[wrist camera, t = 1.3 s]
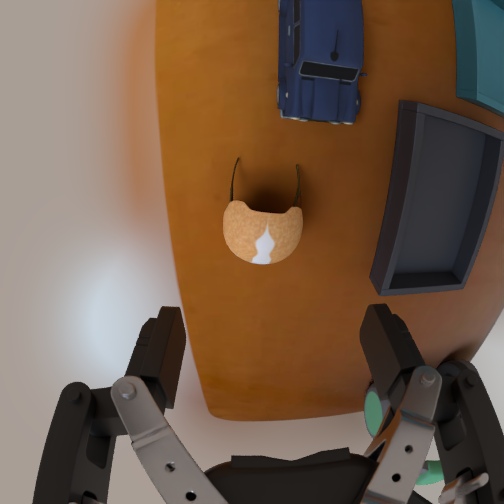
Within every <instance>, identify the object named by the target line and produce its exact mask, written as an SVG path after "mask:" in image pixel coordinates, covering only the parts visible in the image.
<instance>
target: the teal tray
mask: <svg viewBox="0 0 504 504" xmlns="http://www.w3.org/2000/svg"><path fill="white" fill-rule="evenodd" d="M452 5H453V12H454V21H455V33H456V52H457V86H456V97H459V98H461V99H464V100H466V101H469V102H471V103H473V104H476V105H478V106H480V107H483V108H485V109H487V110H489V111H491V112H494V113H496V114H498V115H500V116H502V117H504V0H452Z"/></svg>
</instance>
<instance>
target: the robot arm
mask: <svg viewBox="0 0 504 504" xmlns="http://www.w3.org/2000/svg"><path fill="white" fill-rule="evenodd" d="M408 331H409V330H408V328H407V326H406V324H405V323H404V321H403V320H402V319H401V318H400V317H399V316H397V315H396V314H392V313H391V311H390V309H389V307H388V306H387V304H371V305H369V306H368V308H367V311H366V314H365V317H364V320H363V323H362V325H361V328H360V342H361V345H362V348H363V351H364V354H365V357H366V360H367V362H368V365H369V368H370V371H371V374H372V377H373V380H374V384H375V387H376V390H377V393H378V396H379V399H380V401H384V400H389V401H390V406H389V407H388V409H387V412H386V414H385V416H384V418H383V421H382V423H381V425H380V427H379V429H378V431H377V433H376V435H375V437H374V439H373V441H372V443H371V444H370V446H369V447H368V449H367V450H366V452H365V453H364V455H363V456H362V455H359V454H353V453H350V452H349V448H348V447H347V448H341V449H334V450H327V451H321V452H318V453H315V454H313V455H309V456H306V457H303V458H301V459H298V460H293V461H289V460H283V459H277V458H271V457H266V456H231V461H229V462H225V463H222V464H218V465H216V466H214V467H212V468H210V469H208V470H206V471H205V472H204V473H203V471H202V470H201V469H200V468H199V466H198V465H197V464H196V462H195V461H194V459H193V458H192V457H191V455H190V454H189V453H188V452H187V450H186V448H185V447H184V445H183V444H182V443H181V441H180V440H179V438H178V437H177V435H176V434H175V432H174V431H173V429H172V428H171V426H170V425H169V423H168V422H167V420H166V419H165V417H164V412H165V408H169V409H173V408H174V402H175V396H176V391H177V386H178V381H179V375H180V370H181V365H182V360H183V355H184V350H185V345H186V333H185V328H184V323H183V319H182V314H181V309H180V308H179V307H167V306H166V307H165V306H162V307H161V309H160V311H159V314H158V317H157V318H149V320H148V321H147V322H146V323H145V324H144V325H143V326H142V328H141V331H140V334H139V338H138V340H137V342H136V346H135V348H134V350H133V353H132V356H131V359H130V362H129V365H128V368H127V371H126V374H125V376H124V377H122V378H120V379H118V380H117V381H116V382H115V383H114V384H113V386H112V387H107V388H100V389H91V390H90V388H89V387H88V386H87V385H86V384H84V383H82V382H73V383H70V384H68V385H67V386H66V387H65V388H64V389H63V390H62V392H61V395H60V398H59V401H58V404H57V407H56V410H55V413H54V416H53V419H52V422H51V425H50V429H49V432H48V435H47V439H46V443H45V446H44V450H43V454H42V458H41V462H40V467H39V471H38V476H37V481H36V486H35V491H34V497H33V503H32V504H107V497H108V488H109V481H110V473H111V467H112V460H113V454H114V448H115V442H116V437H117V436H118V435H127V434H129V436H130V438H131V440H132V443H131V445H132V447H133V449H134V451H135V453H136V455H137V457H138V458H139V460H140V462H141V464H142V465H143V467H144V469H145V471H146V473H147V474H148V476H149V477H150V479H151V481H152V482H153V484H154V485H155V487H156V488H157V490H158V492H159V493H160V495H161V496H162V497H163V499H164V500H165V502H166V504H432V503H431V502H429V501H428V500H426V499H425V498H423V497H422V496H421V495H419V494H418V493H416V492H415V491H414V490H413V488H414V486H415V484H416V482H417V479H418V477H419V474H420V472H421V469H422V467H423V464H424V462H425V459H426V456H427V453H428V450H429V448H430V445H431V441H432V438H433V435H434V438H435V442H436V446H437V450H438V454H439V458H440V462H441V467H442V471H443V476H444V481H445V487H444V488H443V490H442V493H441V495H440V496H439V499H438V500H439V503H440V504H504V435H503V432H502V429H501V426H500V423H499V421H498V418H497V415H496V413H495V410H494V408H493V405H492V403H491V400H490V398H489V395H488V393H487V391H486V389H485V386H484V384H483V382H482V380H481V378H480V376H479V375H478V374H477V373H476V372H475V371H473V370H470V369H464V370H462V371H461V372H460V373H459V374H458V376H457V377H449V376H440V374H439V372H438V371H437V370H436V369H434V368H433V367H431V366H427V365H426V364H425V362H424V360H423V358H422V356H421V354H420V352H419V350H418V348H417V346H416V344H415V342H414V340H413V339H412V336H411V334H410V332H408ZM460 413H461V416H462V419H463V422H464V425H465V428H466V435H465V432H464V429H463V426H462V423H461V420H460V417H459V414H460Z"/></svg>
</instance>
